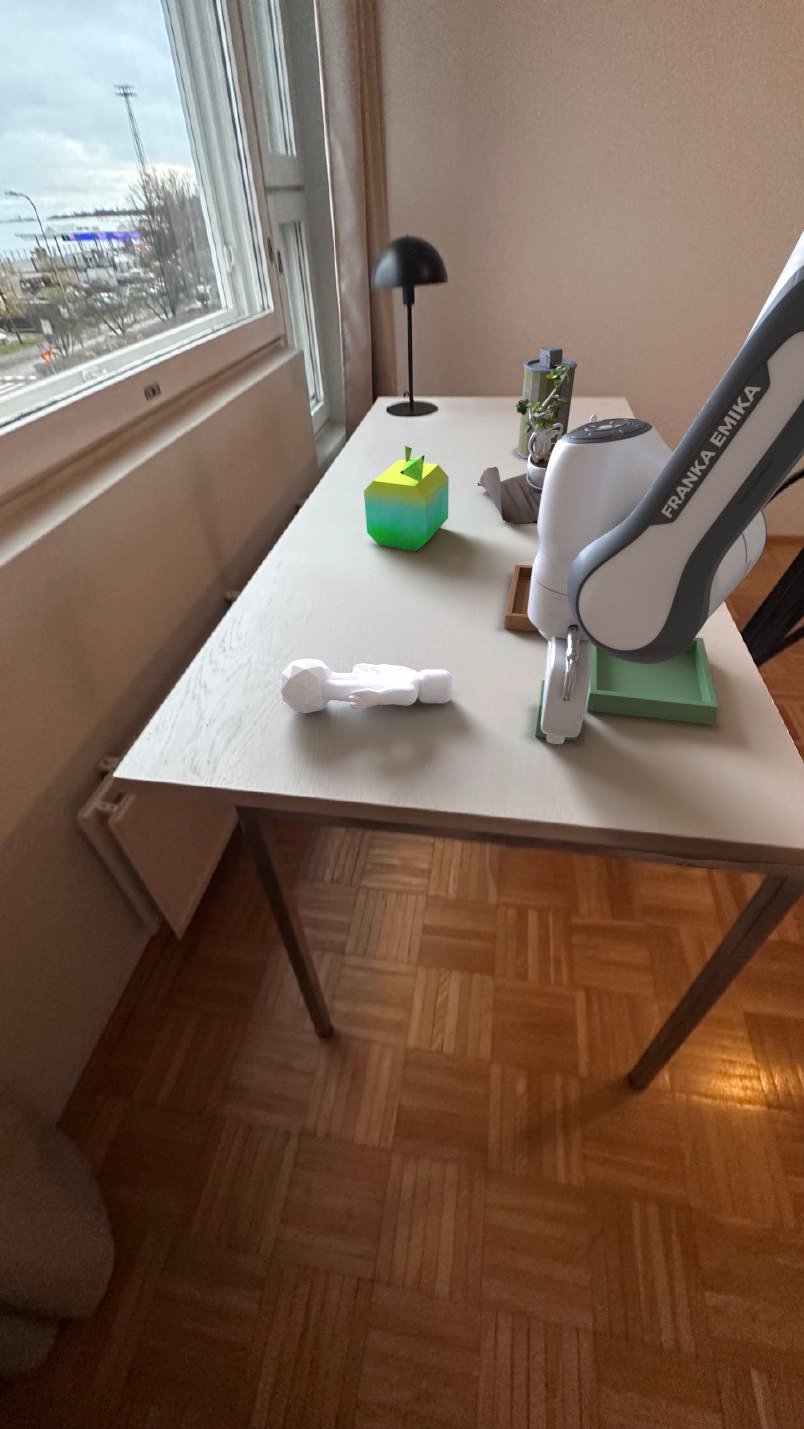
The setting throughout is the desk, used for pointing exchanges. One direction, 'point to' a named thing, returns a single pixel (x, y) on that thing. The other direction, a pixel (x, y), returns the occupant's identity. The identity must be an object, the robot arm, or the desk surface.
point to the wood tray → (519, 600)
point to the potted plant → (529, 461)
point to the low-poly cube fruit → (407, 503)
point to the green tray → (654, 686)
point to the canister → (545, 392)
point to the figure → (361, 686)
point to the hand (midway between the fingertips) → (556, 710)
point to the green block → (539, 714)
